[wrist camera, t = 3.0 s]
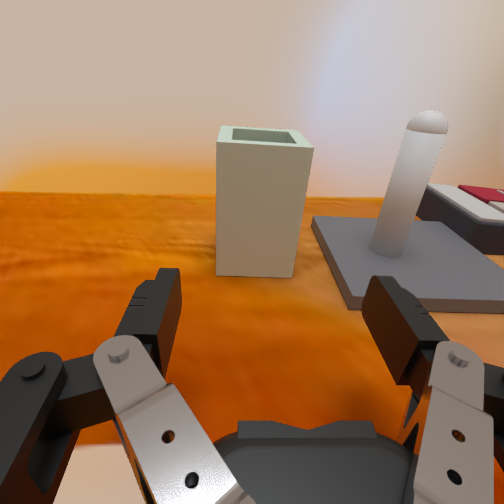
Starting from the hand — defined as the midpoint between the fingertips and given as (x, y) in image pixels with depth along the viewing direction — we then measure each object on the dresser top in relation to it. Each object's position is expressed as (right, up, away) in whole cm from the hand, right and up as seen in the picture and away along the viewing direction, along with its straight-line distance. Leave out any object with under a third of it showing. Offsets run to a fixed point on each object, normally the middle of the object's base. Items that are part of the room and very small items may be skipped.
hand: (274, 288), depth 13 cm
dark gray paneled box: (+27, +3, +22) cm, 35 cm away
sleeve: (-1, +1, +13) cm, 14 cm away
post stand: (+13, +1, +14) cm, 19 cm away
